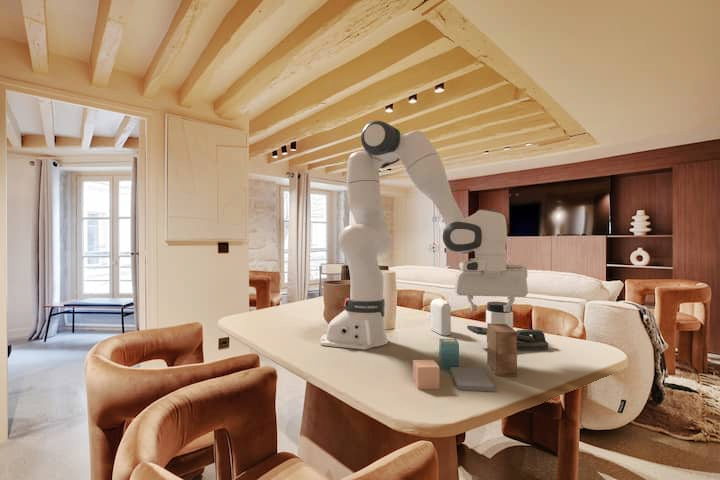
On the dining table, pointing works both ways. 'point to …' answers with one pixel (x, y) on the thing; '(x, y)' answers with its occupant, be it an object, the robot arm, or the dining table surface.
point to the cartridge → (448, 353)
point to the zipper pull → (522, 339)
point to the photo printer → (440, 317)
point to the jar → (498, 314)
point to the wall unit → (502, 349)
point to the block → (426, 374)
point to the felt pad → (471, 379)
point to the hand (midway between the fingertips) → (490, 311)
